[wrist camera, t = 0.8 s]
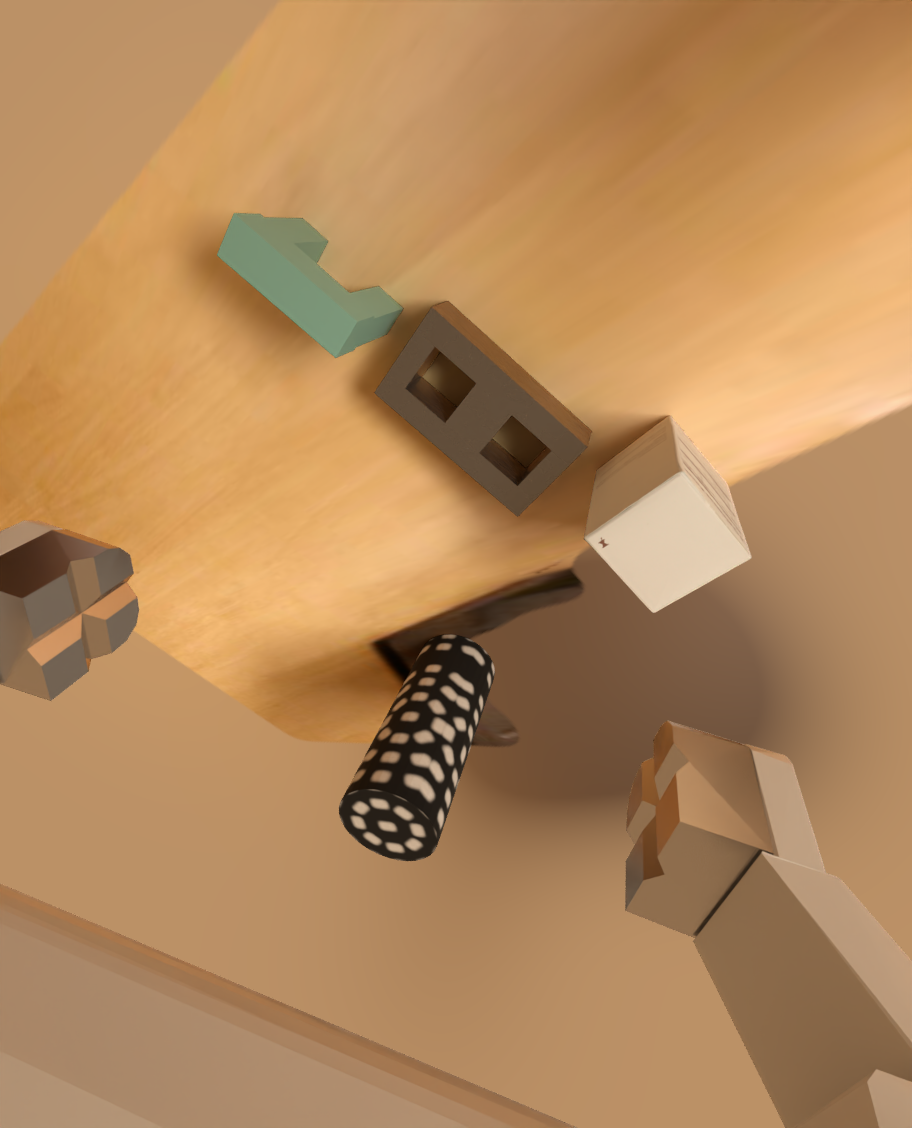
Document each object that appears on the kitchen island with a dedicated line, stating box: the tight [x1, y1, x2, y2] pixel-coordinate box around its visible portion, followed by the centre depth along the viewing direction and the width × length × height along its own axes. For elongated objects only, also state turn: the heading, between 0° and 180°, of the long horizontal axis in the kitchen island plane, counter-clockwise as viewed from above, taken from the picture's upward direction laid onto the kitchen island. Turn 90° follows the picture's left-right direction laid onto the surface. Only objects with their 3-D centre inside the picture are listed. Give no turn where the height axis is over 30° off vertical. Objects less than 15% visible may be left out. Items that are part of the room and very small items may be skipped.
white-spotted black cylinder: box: [339, 635, 495, 861], centre depth 54 cm, size 8×8×20 cm
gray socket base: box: [374, 301, 592, 517], centre depth 46 cm, size 8×15×4 cm, turn 52°
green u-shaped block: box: [217, 213, 403, 358], centre depth 42 cm, size 3×10×9 cm, turn 52°
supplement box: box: [584, 416, 751, 613], centre depth 41 cm, size 7×7×13 cm
